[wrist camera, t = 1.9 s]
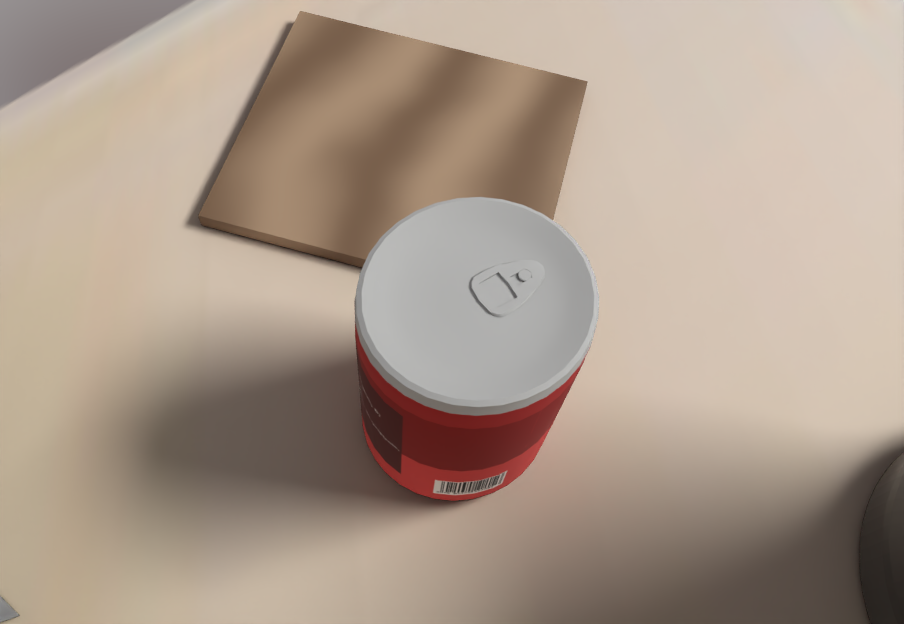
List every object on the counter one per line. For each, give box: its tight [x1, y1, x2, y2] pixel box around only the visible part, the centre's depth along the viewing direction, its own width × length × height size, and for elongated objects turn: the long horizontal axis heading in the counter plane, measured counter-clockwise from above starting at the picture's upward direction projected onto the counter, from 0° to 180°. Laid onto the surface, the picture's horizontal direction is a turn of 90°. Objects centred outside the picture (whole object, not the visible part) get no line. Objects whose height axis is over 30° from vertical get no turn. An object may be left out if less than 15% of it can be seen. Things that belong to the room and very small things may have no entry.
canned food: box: [355, 197, 599, 501], centre depth 32 cm, size 8×8×11 cm
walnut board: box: [198, 11, 587, 268], centre depth 43 cm, size 16×14×1 cm
